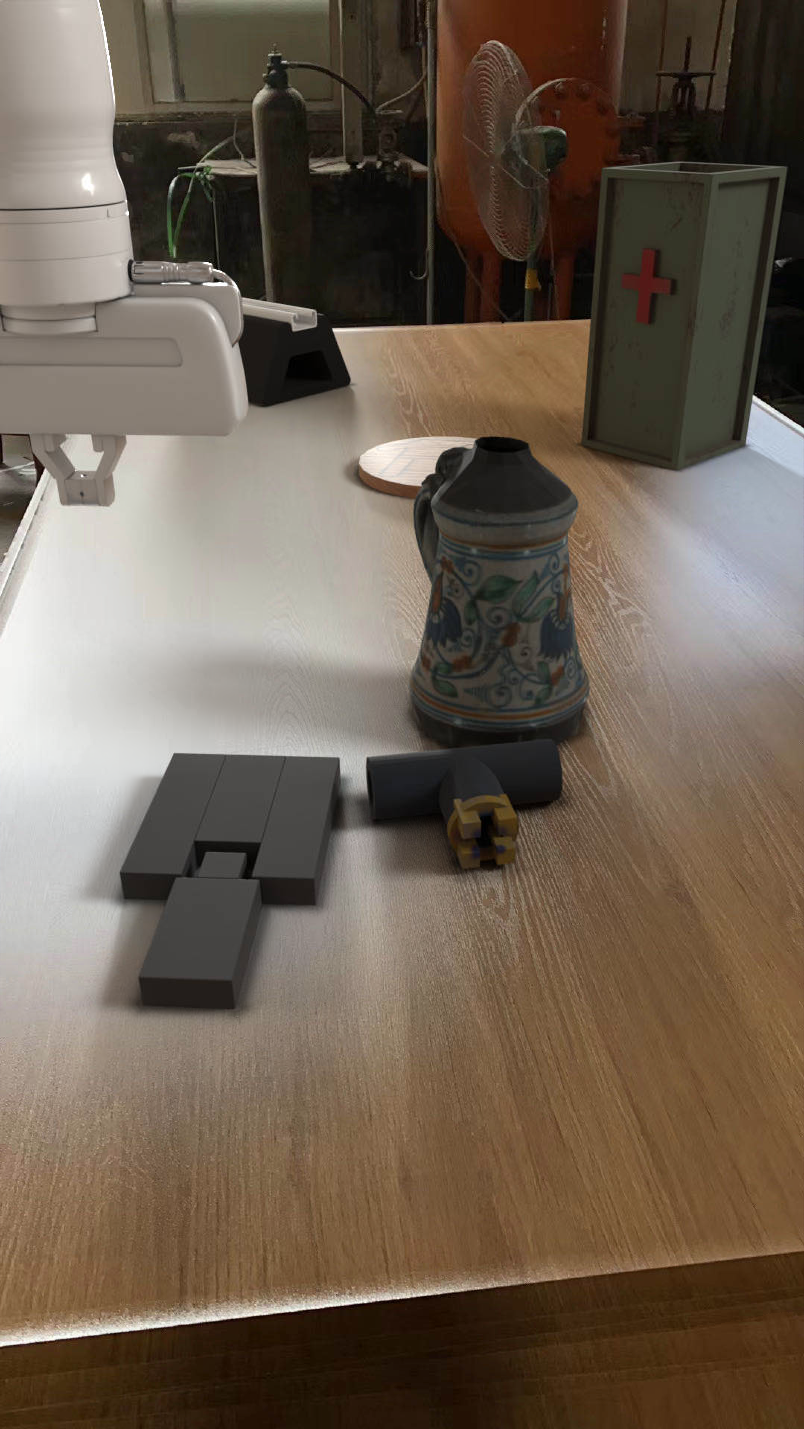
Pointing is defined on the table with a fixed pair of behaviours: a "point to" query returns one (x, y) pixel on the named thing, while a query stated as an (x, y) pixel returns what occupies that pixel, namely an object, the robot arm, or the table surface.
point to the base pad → (238, 823)
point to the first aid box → (679, 308)
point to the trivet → (405, 463)
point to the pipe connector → (468, 791)
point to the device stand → (288, 353)
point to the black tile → (204, 937)
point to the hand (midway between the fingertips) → (88, 503)
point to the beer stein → (497, 600)
